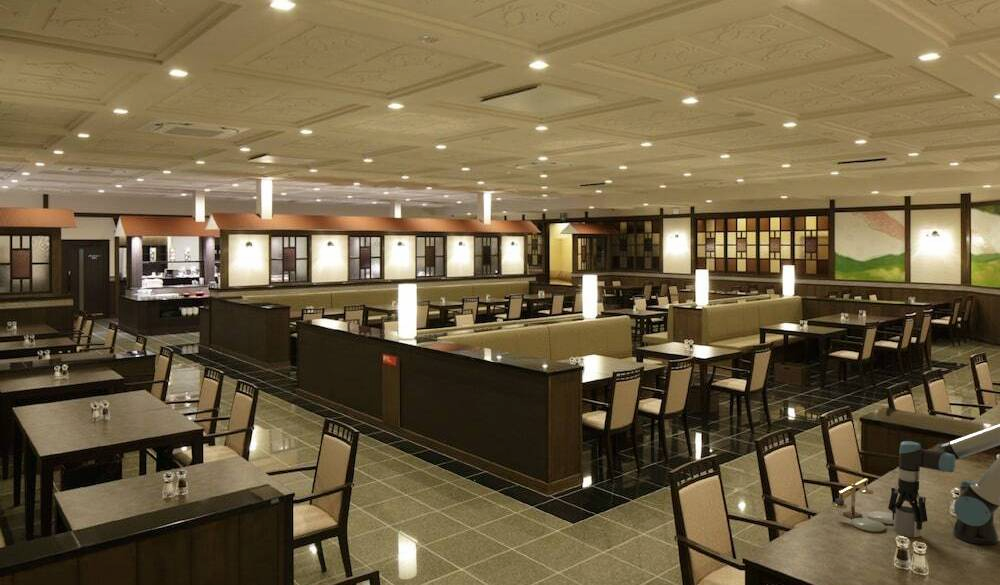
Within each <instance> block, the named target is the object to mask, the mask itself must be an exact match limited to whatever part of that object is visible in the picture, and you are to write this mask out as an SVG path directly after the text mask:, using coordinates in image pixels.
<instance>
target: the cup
mask: <svg viewBox="0 0 1000 585" xmlns="http://www.w3.org/2000/svg"><path fill="white" fill-rule="evenodd" d="M914 521H916V518H915V513H914V512H913V509H912V506H905V505H902V506H901V507H900V508H897V507H896V518H895V529H894V532H895V533H896V534H897V535H898V536H899V535H900V536H902V535H905V536H904V537H906V536H907V538H915V537H914Z"/></svg>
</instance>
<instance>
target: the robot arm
mask: <svg viewBox="0 0 1000 585" xmlns="http://www.w3.org/2000/svg"><path fill="white" fill-rule="evenodd" d="M899 444H900V445H899V451H898V455H899V457H898V475H897V476H898V479H897V480H898V481H897V487H892V488H890V489H891V490H890V491H891V494H890V498H889V503H888V507H887V509H888V510H889V511H891V512H892V514H893V517H892V519H893V520H894V524H893V529H894V530H895V518H896V507H897V508H900V507H901V506H903V504H904V502H908V503H909V505H910V507H912V509H913V512H914V513H915V518H916V521H914V537H913V538H918V537H921V530H922V529H923V523H925V522H928V515H927V508H926V501H927V499H926V497H925V496H921V495H920V494H919V490H920V481H919V480H920V475H921V474H920V470H921V468H923V469H927V470H933V471H939V472H943V473H954V472H955V469H956V461H958V460H960V459H962V458H966V457H968V456H971V455H975V454H977V453H980V452H984V451H986V450H989V449H992V448H995V447H998V446H1000V423H997V424H995V425H992V426H988V427H986V428H984V429H981V430H978V431H975V432H972V433H970V434H967V435H964V436H961V437H958V438H955V439H953V440H950V441H947V442H945V443H944V442H942V443H941V442H940V443H938V444H936V445H935V446H934V447H932V448H933V449H932V450H929V449H925V448H922V446H921V443H919V442H915V441H910V440H904V441H901V442H900V443H899ZM898 495H899V496H898ZM956 498H957V499H956V500H955V501H954V503H953V509H954V513H955V515H956V517H957V520H956V522H955V524H954V525H953V532H952V534H953V536H954V537H955V538H958V539H959V540H962V541H964V542H967V543H970V544H971V543H972V544H975V545H981V546H994V545H993V544H995V545H997V544H998V543H999V537H998V536H999V535H998V533H997V530H996V526H995V521H994V520H995V518H994V516H995V512H996V511H997V509H998V508H999V507H1000V455H999V456H998V458H996V460H995V461H994V462H993V463H992V464H991V466H990V467H989V468H988V469H987V470H986V472H985V473H984V474H983V475H982V476H981V477H980V479H979V480H978V481H975V480H962V481H960V485H959V495H958V496H957V497H956Z"/></svg>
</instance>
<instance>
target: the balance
mask: <svg viewBox="0 0 1000 585" xmlns="http://www.w3.org/2000/svg"><path fill="white" fill-rule="evenodd" d="M868 481H869V479H868V478H866V477H865V478H863V479H861V480H860V481H857V482H856V483H851V484H850V486H847V487H845V488H844V489H841V490H839V491H838V498H835V502H832V506H833V507H834V508H837V509H847V506H848V505H847V504H846V503H845V499H843V498H841V495H843V494H845V493H847V492H849V491H850V492H851V493H850V510H849V511H844V512H843V511H842V515H843V516H844V517H846V518H849V519H851V520H852V519H854V518H863V513H859V512H857V511H855V510H856V489H857V487H858V486H859V487H860V486H861V485H862V484H865V488H859V493H861V494H865V495H873V494H874V492H875V491H873V490H872V489H869V488H868Z"/></svg>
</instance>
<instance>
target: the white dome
mask: <svg viewBox="0 0 1000 585" xmlns="http://www.w3.org/2000/svg"><path fill="white" fill-rule="evenodd" d="M867 517H868V519H872V520H876V521H879V522H881V523H883V524H884V525H885V524H886V525H894V520H893V519H892V517H893V512H892V513H890V512H887V511H881V510H879V511H878V510H873V511H869V512H868V513H867Z"/></svg>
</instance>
